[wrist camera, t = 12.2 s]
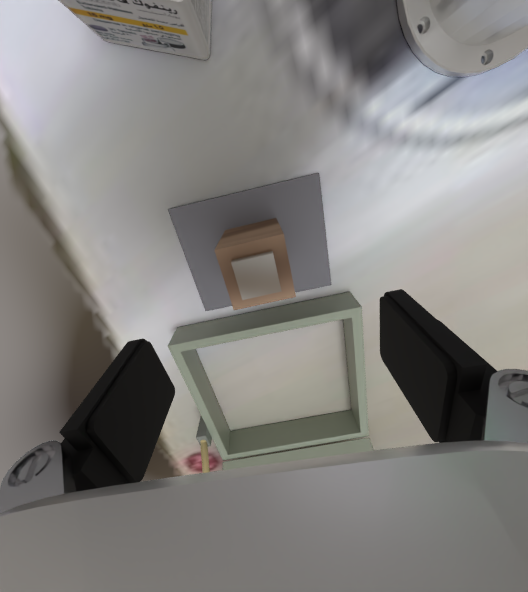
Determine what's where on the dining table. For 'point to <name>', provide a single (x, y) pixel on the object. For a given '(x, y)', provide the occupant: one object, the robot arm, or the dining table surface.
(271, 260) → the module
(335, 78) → the dining table surface
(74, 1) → the container
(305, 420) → the case
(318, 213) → the mat
